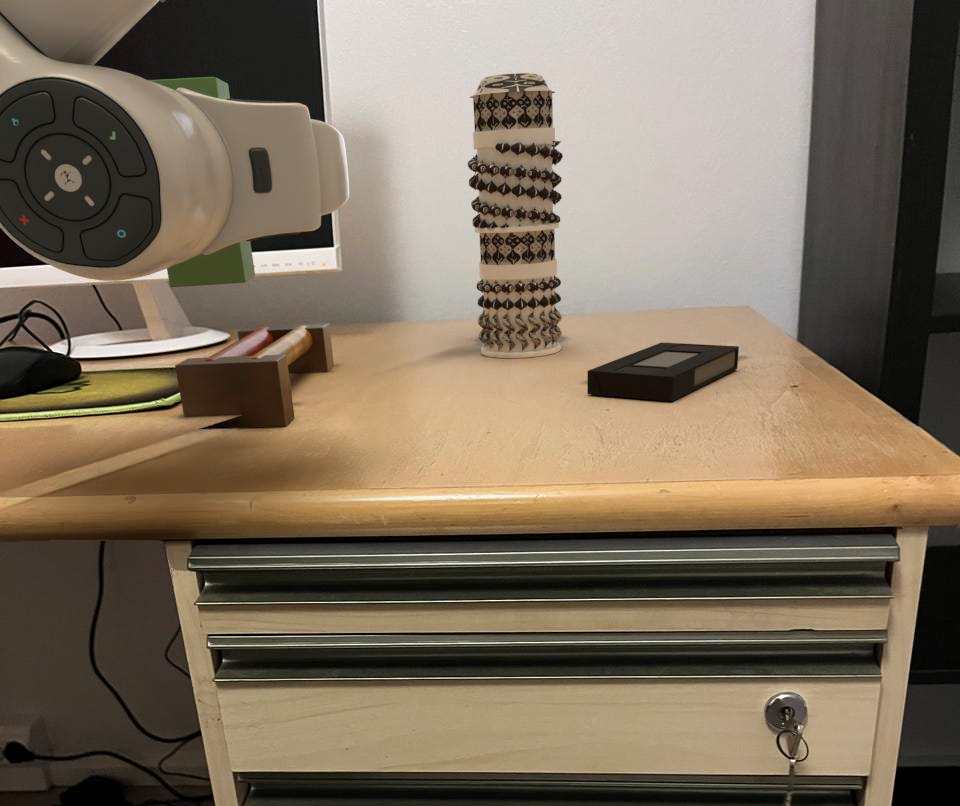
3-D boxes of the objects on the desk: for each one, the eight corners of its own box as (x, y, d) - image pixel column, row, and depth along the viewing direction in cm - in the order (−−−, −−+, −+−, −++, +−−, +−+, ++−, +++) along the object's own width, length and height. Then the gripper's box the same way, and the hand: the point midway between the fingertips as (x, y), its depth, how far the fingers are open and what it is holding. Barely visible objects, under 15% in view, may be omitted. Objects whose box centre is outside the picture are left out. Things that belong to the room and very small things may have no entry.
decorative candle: (581, 345, 104) (579, 73, 93) (535, 360, 97) (528, 68, 86) (508, 341, 109) (498, 82, 98) (459, 355, 102) (443, 78, 91)
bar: (170, 287, 66) (133, 81, 60) (184, 280, 70) (151, 87, 65) (245, 282, 66) (215, 76, 61) (255, 275, 70) (228, 83, 65)
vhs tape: (738, 369, 88) (739, 346, 87) (671, 402, 78) (672, 376, 77) (660, 364, 92) (661, 342, 91) (587, 395, 82) (587, 370, 81)
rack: (186, 430, 77) (174, 363, 75) (253, 380, 95) (245, 325, 93) (286, 426, 77) (277, 359, 75) (335, 376, 95) (329, 321, 93)
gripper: (-26, 249, 54) (53, 235, 67) (347, 228, 55) (356, 218, 68) (-58, 120, 52) (30, 130, 64) (334, 101, 53) (346, 114, 65)
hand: (200, 175), depth 66 cm, fingers closed on bar, 5 cm apart
